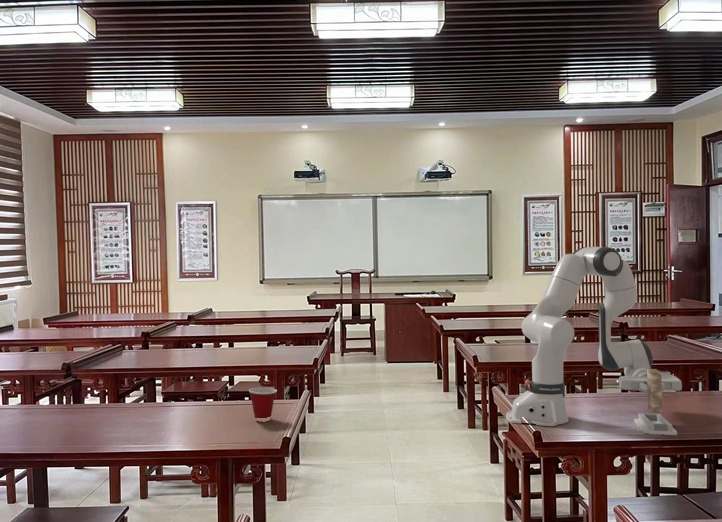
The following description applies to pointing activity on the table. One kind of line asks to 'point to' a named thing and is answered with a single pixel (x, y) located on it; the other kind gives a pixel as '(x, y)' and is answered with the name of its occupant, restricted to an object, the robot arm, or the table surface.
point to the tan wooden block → (654, 390)
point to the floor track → (654, 424)
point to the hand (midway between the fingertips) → (655, 388)
